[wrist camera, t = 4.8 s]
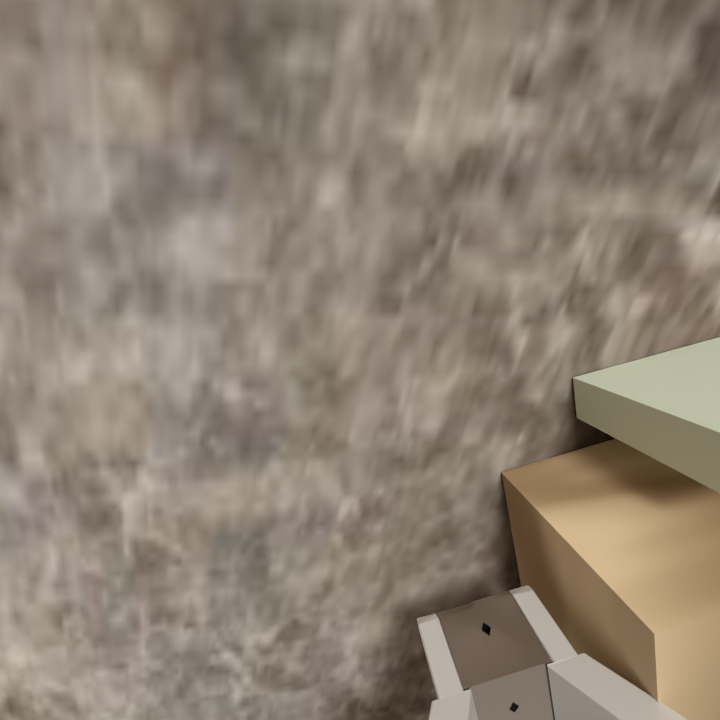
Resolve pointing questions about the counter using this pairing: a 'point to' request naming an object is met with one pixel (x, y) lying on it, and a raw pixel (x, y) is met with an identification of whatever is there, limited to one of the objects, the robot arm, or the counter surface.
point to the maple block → (626, 567)
